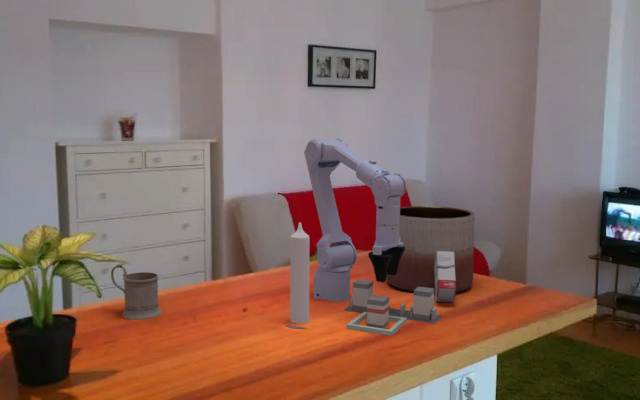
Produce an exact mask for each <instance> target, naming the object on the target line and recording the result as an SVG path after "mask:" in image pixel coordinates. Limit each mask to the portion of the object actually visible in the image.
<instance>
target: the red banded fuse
mask: <svg viewBox="0 0 640 400" xmlns="http://www.w3.org/2000/svg"><path fill="white" fill-rule="evenodd" d="M389 308H390V296H383V295H374V294H373V296H371V297H370V298H368V299H367V318H366V326H369V327H376V328H382V329H386V327H388V325H389V324H390V321H389Z"/></svg>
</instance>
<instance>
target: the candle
mask: <svg viewBox="0 0 640 400" xmlns="http://www.w3.org/2000/svg"><path fill="white" fill-rule="evenodd" d="M289 238H290V243H289V245H290V248H289V249H290V250H289V251H290V252H289V253H290V257H289V261H290V262H289V264H290V266H289V267H290V269H289V270H290V273H289V274H290V275H289V279H290V280H289V281H290V282H289V283H290V284H289V289H290V290H289V292H290V293H289V295H290V297H289V299H290V301H289V303H290V304H289V305H290V306H289V307H290V308H289V310H290V311H289V312H290V313H289V319H290V320H289V321H290V323H293V324H299V325H301V324H307V323H308V322H310V235H309V234H307V233H306V232H305V231H304V229H303V226H302V222H300V221H299V222H298V226H297V229H296V231H295V232H294V233H292V234H291V235H290V237H289ZM284 325H285V327H287V328H288V329H292V330H293V329H295V330H306V329H308V327H304V326H298V325H291V324H284Z"/></svg>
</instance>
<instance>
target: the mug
mask: <svg viewBox="0 0 640 400" xmlns="http://www.w3.org/2000/svg"><path fill="white" fill-rule="evenodd" d="M124 265H125V264H124V263H118V264H116V265H115V266H114V267H112V269H111V271H110V277H111V281H112V283H113V285H114V286H115V287H117V289H119V290H121V291H122V292H123V293H124V309H123V311H122V312H121V317H122V318H124V319H128V320H147V319H148V320H149V319H153V318H156V317H158V316H161V315H162V314H163V310H162V309H161V308H160V306H159V289H158V287H159V285H158V284H159V283H158V279H159V274H157V273H155V272H145V271H142V272H140V271H139V272H133V273H128V272H127V269H126V268H125V267H124ZM118 268H119V269H122V270H123V275H122V279H123V281H124V282H123V283H124V285H123V286H124V288H123V287H121V286H120V285H118V284H117V282H116V280H115V277H114V272H115V270H116V269H118Z"/></svg>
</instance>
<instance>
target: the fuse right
mask: <svg viewBox="0 0 640 400" xmlns="http://www.w3.org/2000/svg"><path fill="white" fill-rule="evenodd" d="M434 303H435V294H434V288H426V287H417V288H416V289H415V290H414V292H413V304H412V305H413V318H415V319H421V320H428V321H429V320H430V319H431V316H432V309H433V308H434V307H435V305H434Z"/></svg>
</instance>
